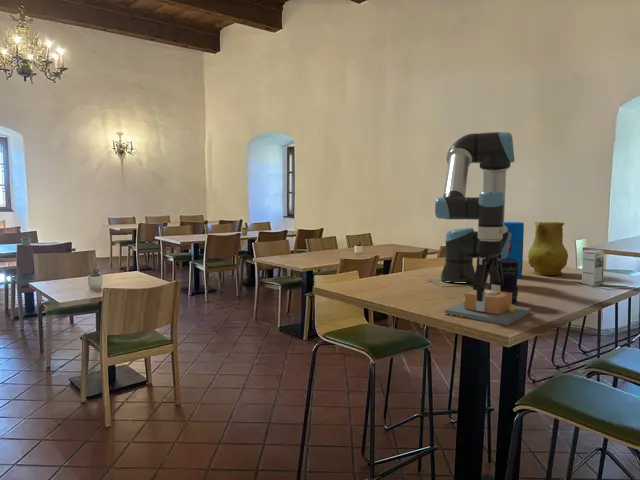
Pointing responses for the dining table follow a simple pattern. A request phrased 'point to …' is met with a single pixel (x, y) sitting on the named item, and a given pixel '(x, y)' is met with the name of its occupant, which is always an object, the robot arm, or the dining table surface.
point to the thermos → (516, 243)
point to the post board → (502, 318)
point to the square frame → (489, 301)
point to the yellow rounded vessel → (548, 249)
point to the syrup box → (592, 267)
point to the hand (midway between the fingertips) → (488, 307)
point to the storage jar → (509, 278)
